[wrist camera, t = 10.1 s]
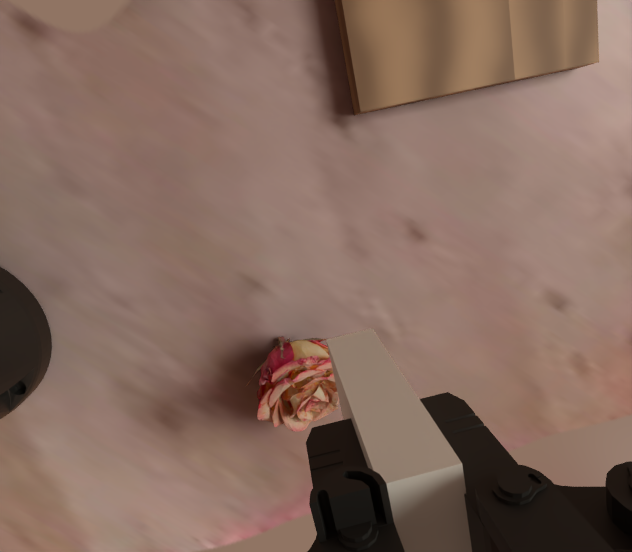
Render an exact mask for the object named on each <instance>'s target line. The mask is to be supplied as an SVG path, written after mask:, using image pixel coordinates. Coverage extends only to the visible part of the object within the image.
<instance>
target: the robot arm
mask: <svg viewBox="0 0 632 552" xmlns="http://www.w3.org/2000/svg"><path fill="white" fill-rule="evenodd" d="M326 341H327V346H328V351H329V355H330V360H331V365H332V369H333V374H334V378H335V383H336V388H337V392H338V397H339V401H340V406H341V411H342V415H343V418H344V420H342V421H338V422H334V423H330V424H326V425H322V426H318V427H314V428H312V430H311V432H310V434H309V437H308V439H307V441H306V446H307V452H308V458H309V464H310V470H311V477H312V483H313V489H312V491H311V494H310V503H309V504H310V508H311V512H312V515H313V519H314V523H315V527H316V531H317V536H316V540H315V541H314V543H313V545H312V547H311V548H310V550H309V551H308V552H632V462H625V463H623V464H619V465H616V466H614V467H613V468H612V469H611V470H610V471H609V472H608V473H607V478H606V487H570V486H569V487H568V486H559V485H555V484H553V483H552V481H551V480H550V479H548V478H547V477H546V476H544V475H543V474H542V473H540V472H539V471H537V470H534V469H532V468H529V467H527V466H523V465H518V464H517V462H516V461H515V460H514V459H513V458H512V457H511V455H510V454H509V453H508V452H507V451H506V449H505V448H504V447H503V446H502V445H501V444H500V442H499V441H498V440H497V439H496V438H495V436H494V435H493V434H492V433H491V432H490V431H489V429H488V428H487V427H486V426H484V424H483V422H482V421H481V420H480V419H479V418H478V416H476V415H475V413H474V412H473V410H472V409H471V408H470V407H469V406H468V405H467V403H466V402H465V401H464V400H462V399H460V398H458V397H456V396H454V395H452V394H450V393H448V392H447V393H443V394H439V395H435V396H431V397H427V398H423V399H419V398H418V396H417V395H416V393H415V392H414V390H413V389H412V387H411V386H410V384H409V383H408V381H407V380H406V378H405V377H404V375H403V374H402V372H401V371H400V369H399V368H398V366H397V365H396V363H395V362H394V360H393V359H392V357H391V356H390V354H389V353H388V351H387V349H386V348H385V346H384V345H383V343H382V342H381V340H380V339H379V337H378V336H377V334H376V333H375V331H374V330H373V328H371V329H367V330H363V331H359V332H355V333H351V334H347V335H342V336H338V337H334V338H330V339H326ZM51 348H52V344H51V334H50V329H49V325H48V322H47V319H46V316H45V314H44V312H43V310H42V308H41V306H40V304H39V303H38V301H37V300H36V298H35V297H34V296H33V294H32V293H31V292H30V291H29V290H28V288H27V287H26V286H25V285H24V284H23V283H21V282H20V281H19V280H18V279H17V278H16V277H14V276H13V275H12V274H10V273H9V272H8V271H6V270H4V269H3V268H1V267H0V419H1V418H3V417H4V416H6V415H7V414H9V413H10V412H12V411H13V410H15V409H16V408H17V407H18V406H19V405H20V404H21V403H22V402H23V401H24V400H25V399H26V398H27V397H28V396H29V395H30V394H31V393H32V392H33V391H34V390H35V389H36V388H37V386H38V385H39V384H40V382H41V381H42V379H43V377H44V375H45V373H46V371H47V368H48V366H49V362H50V357H51Z"/></svg>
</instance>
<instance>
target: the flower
mask: <svg viewBox="0 0 632 552" xmlns="http://www.w3.org/2000/svg"><path fill="white" fill-rule="evenodd" d="M289 340H290V338H289V339H288V340H287V341H285V339H284V337H278V339H277V343H278V345H277V346H276V347H273V348H274V349H273V350H272V351H271V352H270V353H269V354H268V357H267V359H266V361H265V362H263V363H262V364H261V365H260V366H259V367H258V369H257V370H256V372H255V373H254V375H253V376H252V378H253V377H254V376H255V375H256V373H257V372H258V371H259V370H261V377H260V379H259V381H258V382H259V386H260V388H259V390H258V392H257V398H258V399H259V407H258V413H257V417H258V420H267V421H270V422H273V424H274V426H275V427H277V426H278V425H280V424H283V423H284V424H285V426H286V427H287V428H288V429H290V430H292V431H302V430H305V429H306V428H307V426H308V424H309V423H310V421H312V420H313V421H314V422H315V421H316V420H317V419H321V418H323V417H324V416H326V415H328V414H330V413H331V412H333V411H334V410H336V409H338V407H337V406H336V405H338V404H339V402H340V401H339V397H338V392H337V388H336V383H335V378H334V374H333V369H332V365H331V360H330V355H329V351H328V346H325V345H323V344H321V343H319V342H320V341H323V340H326V339H317V338H311V339H304V340H297V341H293V342H289ZM252 378H251V379H252ZM250 381H251V380H250ZM250 381H249V383H250ZM249 383H248V384H249ZM248 384H247V385H248ZM247 385H246V386H247Z"/></svg>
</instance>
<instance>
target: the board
mask: <svg viewBox="0 0 632 552" xmlns="http://www.w3.org/2000/svg"><path fill="white" fill-rule="evenodd" d="M335 6H336V12H337V18H338V23H339V29H340V35H341V41H342V47H343V52H344V58H345V64H346V70H347V75H348V81H349V87H350V93H351V99H352V104H353V110H354V115H358V114H362V113H367V112H372V111H377V110H381V109H386V108H391V107H396V106H400V105H405V104H410V103H415V102H419V101H424V100H429V99H434V98H438V97H443V96H448V95H453V94H457V93H462V92H467V91H471V90H476V89H481V88H486V87H490V86H495V85H500V84H505V83H509V82H514V81H519V80H524V79H528V78H533V77H538V76H543V75H547V74H552V73H557V72H562V71H566V70H571V69H576V68H580V67H583V66H587V65H590V64H593V63H597V62H599V48H598V18H597V0H335Z"/></svg>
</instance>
